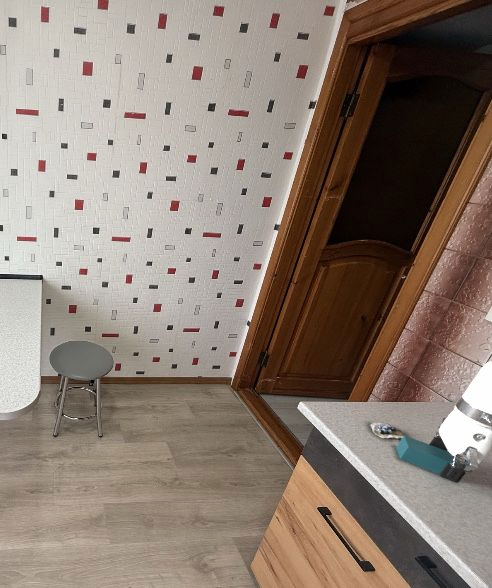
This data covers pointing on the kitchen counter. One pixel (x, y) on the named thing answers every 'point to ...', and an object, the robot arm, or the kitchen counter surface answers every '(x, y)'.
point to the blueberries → (385, 430)
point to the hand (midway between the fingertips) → (441, 464)
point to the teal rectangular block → (423, 454)
